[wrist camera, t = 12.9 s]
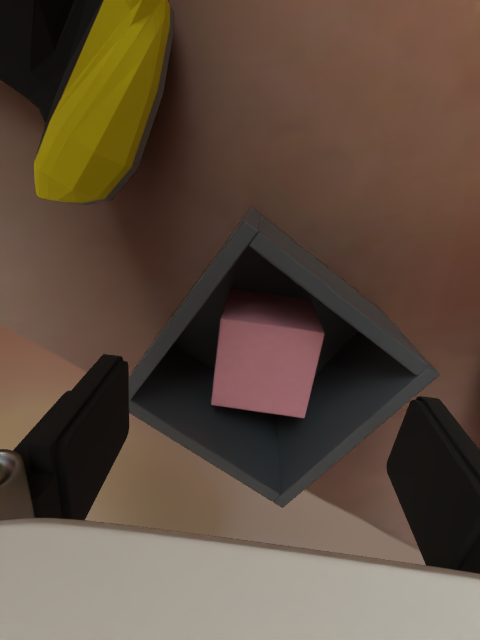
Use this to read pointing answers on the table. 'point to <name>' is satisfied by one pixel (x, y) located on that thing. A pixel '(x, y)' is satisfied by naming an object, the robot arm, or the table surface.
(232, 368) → the pink block
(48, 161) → the gaming controller
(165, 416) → the grey bin
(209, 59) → the table surface
